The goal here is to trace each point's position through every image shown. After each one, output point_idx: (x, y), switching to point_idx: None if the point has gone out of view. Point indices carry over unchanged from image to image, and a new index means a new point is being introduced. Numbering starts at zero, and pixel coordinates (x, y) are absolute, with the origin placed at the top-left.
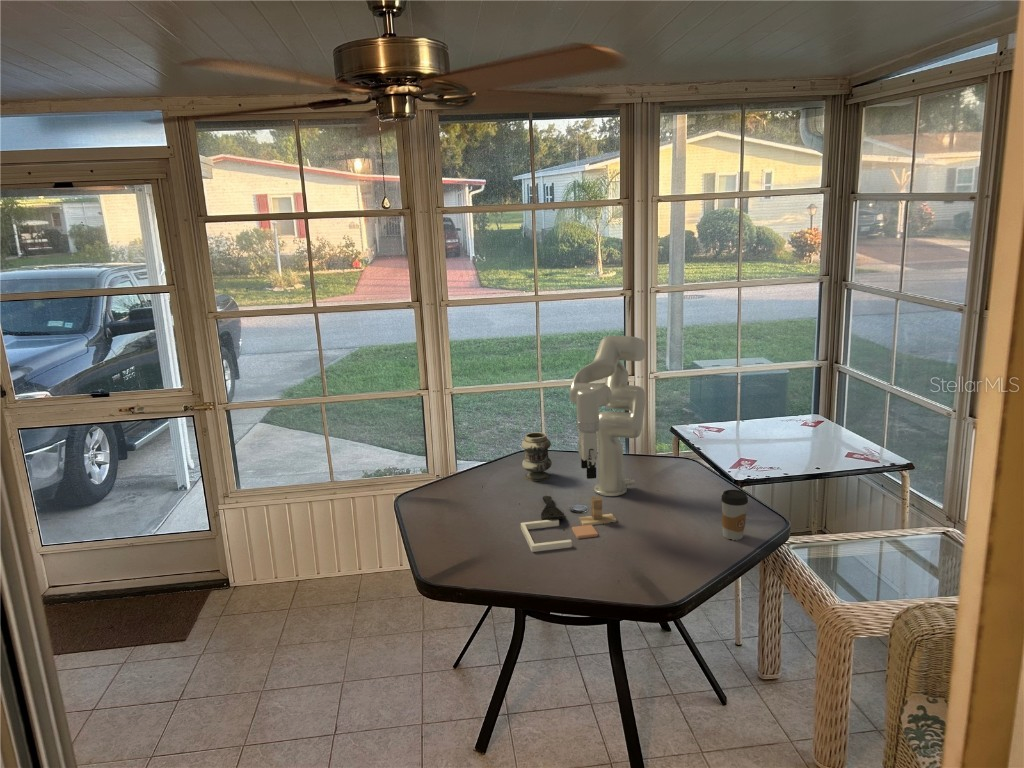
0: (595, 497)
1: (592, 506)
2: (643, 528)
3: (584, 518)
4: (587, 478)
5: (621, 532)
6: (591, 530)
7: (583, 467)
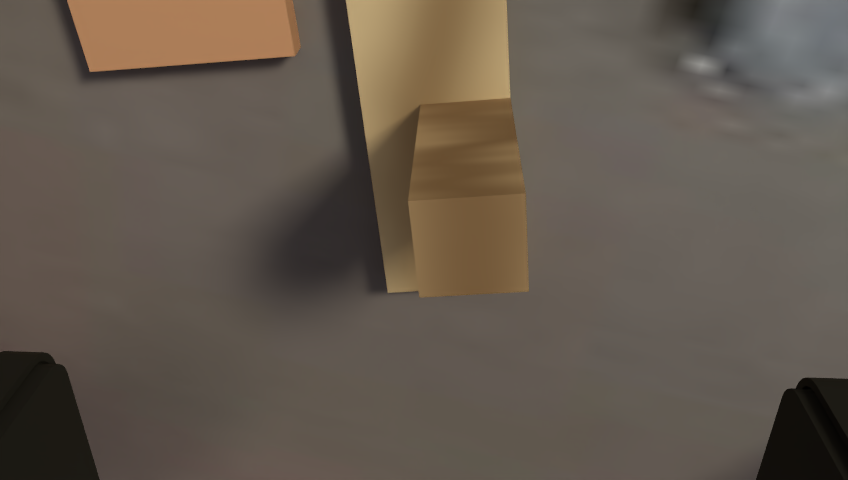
0: (509, 242)
1: (468, 152)
2: (251, 419)
3: (461, 12)
4: (11, 355)
5: (183, 268)
6: (158, 24)
7: (787, 428)
